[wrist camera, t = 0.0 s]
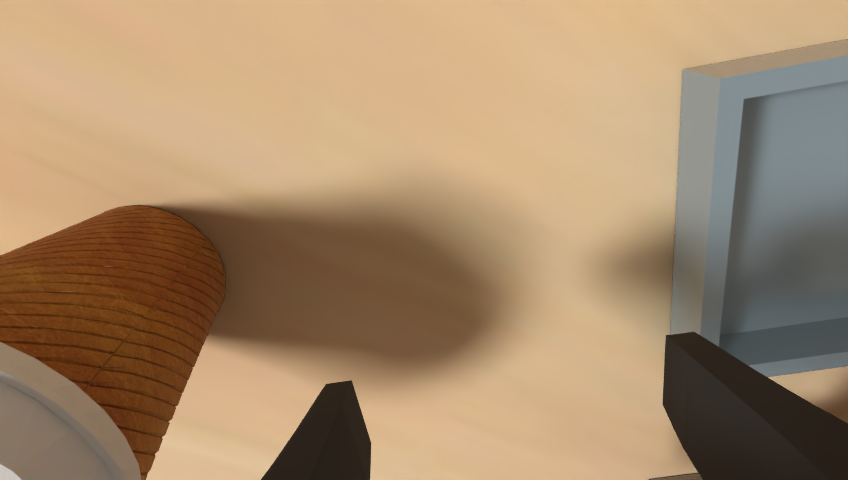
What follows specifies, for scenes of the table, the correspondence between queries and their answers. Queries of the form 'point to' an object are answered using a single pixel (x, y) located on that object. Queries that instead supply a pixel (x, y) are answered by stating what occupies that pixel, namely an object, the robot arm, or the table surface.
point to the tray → (765, 209)
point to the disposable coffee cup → (101, 342)
